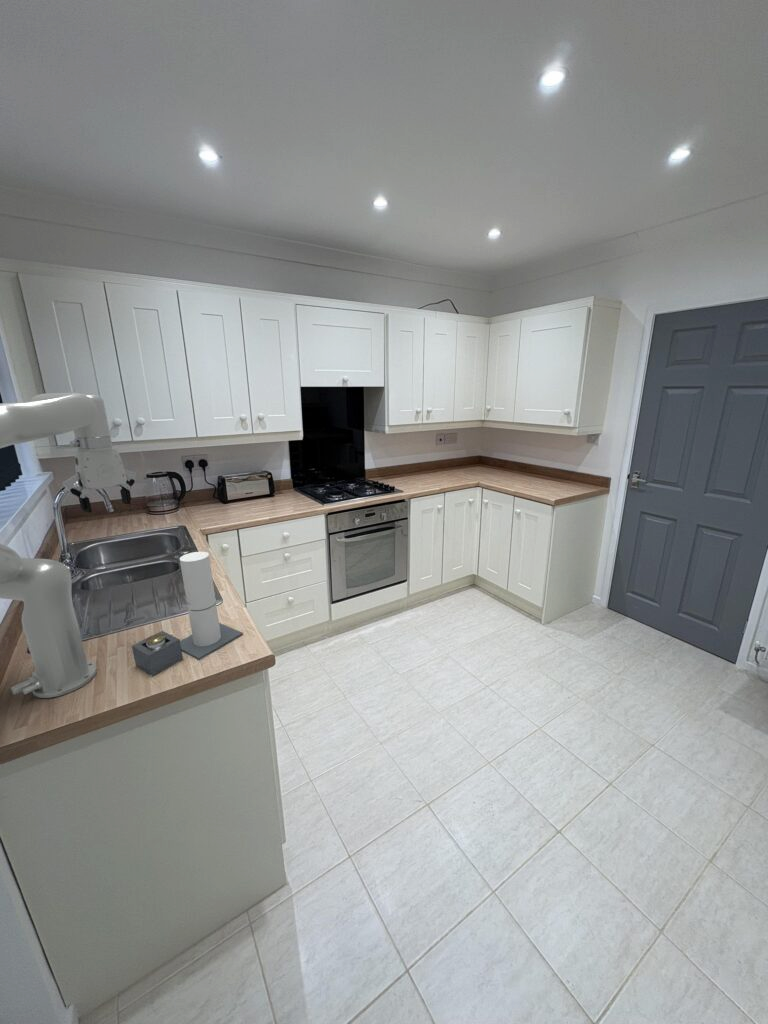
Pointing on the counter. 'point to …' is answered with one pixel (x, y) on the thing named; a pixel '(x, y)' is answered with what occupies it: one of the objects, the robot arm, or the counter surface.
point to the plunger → (155, 641)
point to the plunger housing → (157, 655)
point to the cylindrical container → (200, 598)
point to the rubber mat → (203, 651)
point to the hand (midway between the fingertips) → (108, 507)
